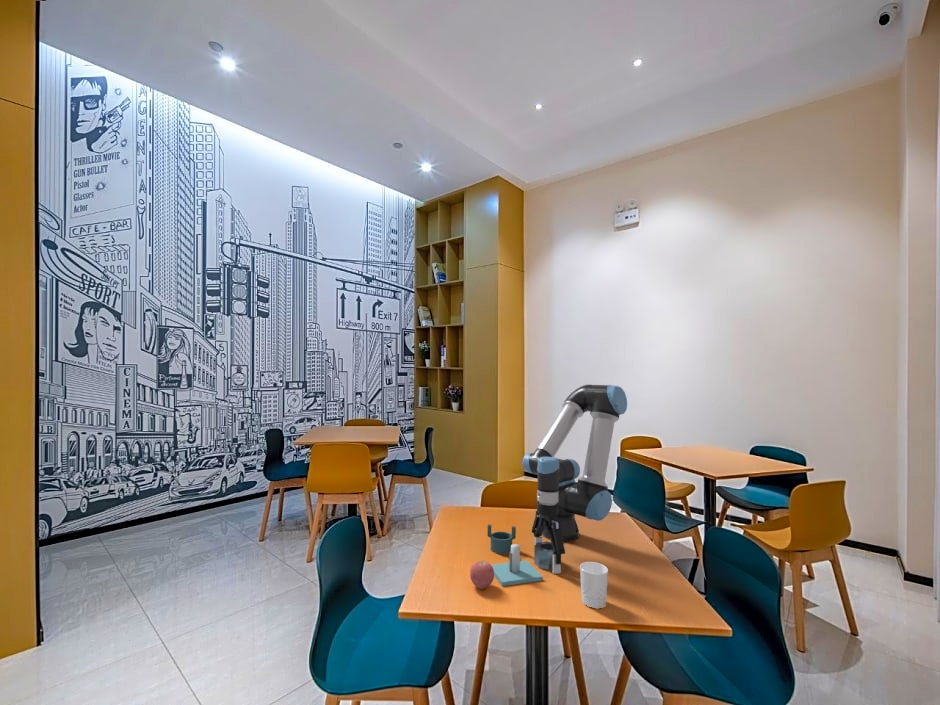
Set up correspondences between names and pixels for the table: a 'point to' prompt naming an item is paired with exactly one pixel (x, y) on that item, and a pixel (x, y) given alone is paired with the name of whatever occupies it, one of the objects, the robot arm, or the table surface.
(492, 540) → the bracket
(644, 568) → the table surface
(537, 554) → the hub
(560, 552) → the robot arm
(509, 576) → the stand
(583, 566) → the white cup
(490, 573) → the apple
